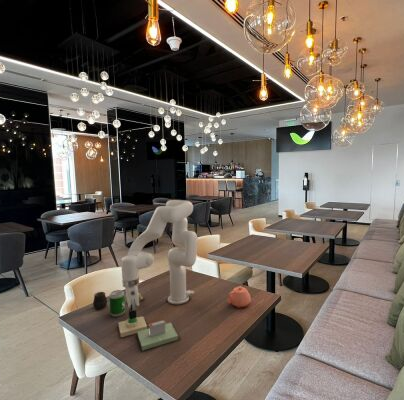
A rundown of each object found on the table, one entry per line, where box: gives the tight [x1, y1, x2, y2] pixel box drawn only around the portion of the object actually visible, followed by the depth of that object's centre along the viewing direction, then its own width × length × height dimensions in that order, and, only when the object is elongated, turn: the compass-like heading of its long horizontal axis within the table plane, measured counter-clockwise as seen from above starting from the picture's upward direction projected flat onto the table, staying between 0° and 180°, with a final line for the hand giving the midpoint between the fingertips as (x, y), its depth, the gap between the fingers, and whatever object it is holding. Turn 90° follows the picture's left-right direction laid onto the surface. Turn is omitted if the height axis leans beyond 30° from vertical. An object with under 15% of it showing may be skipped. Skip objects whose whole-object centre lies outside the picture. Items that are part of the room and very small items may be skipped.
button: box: [127, 317, 136, 323], centre depth 130 cm, size 4×4×2 cm
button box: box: [118, 316, 148, 338], centre depth 130 cm, size 12×10×4 cm
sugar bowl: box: [227, 285, 252, 309], centre depth 152 cm, size 12×14×10 cm
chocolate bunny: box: [137, 285, 144, 302], centre depth 158 cm, size 6×8×10 cm
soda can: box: [108, 289, 126, 318], centre depth 143 cm, size 8×8×12 cm
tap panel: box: [136, 322, 179, 351], centre depth 123 cm, size 16×12×2 cm
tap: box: [148, 319, 166, 337], centre depth 122 cm, size 7×2×5 cm, turn 118°
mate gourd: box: [92, 291, 108, 310], centre depth 150 cm, size 7×8×10 cm
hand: (132, 317), depth 130 cm, fingers closed
